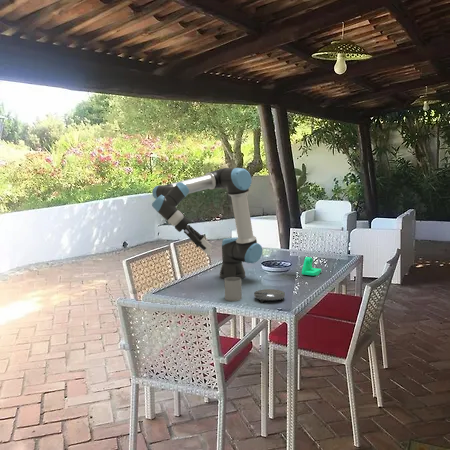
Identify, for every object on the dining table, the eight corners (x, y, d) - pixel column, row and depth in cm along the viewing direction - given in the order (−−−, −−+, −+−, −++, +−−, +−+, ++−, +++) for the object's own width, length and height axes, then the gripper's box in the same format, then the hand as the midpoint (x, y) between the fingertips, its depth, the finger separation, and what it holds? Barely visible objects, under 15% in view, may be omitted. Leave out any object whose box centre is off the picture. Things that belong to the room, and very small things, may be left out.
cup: (227, 301, 241) (227, 281, 240) (222, 297, 249) (222, 277, 247) (243, 299, 243) (243, 280, 242) (238, 295, 251) (238, 276, 250)
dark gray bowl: (251, 302, 238) (251, 296, 238) (257, 294, 253) (257, 288, 252) (282, 304, 234) (282, 298, 234) (286, 295, 249) (286, 289, 248)
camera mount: (313, 277, 285) (313, 260, 284) (301, 275, 290) (301, 258, 288) (321, 273, 295) (322, 256, 294) (310, 271, 299) (310, 255, 298)
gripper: (175, 223, 253) (205, 251, 255) (171, 230, 228) (204, 261, 230) (186, 213, 252) (215, 241, 255) (182, 219, 228) (215, 250, 230)
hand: (210, 251), depth 243 cm, fingers open, 13 cm apart
